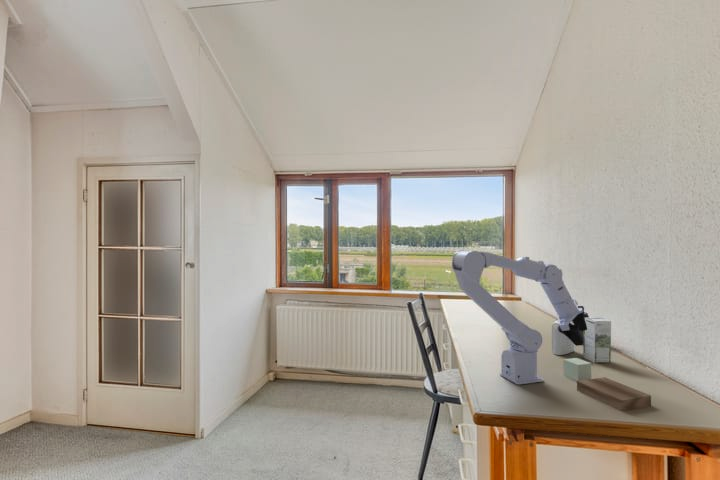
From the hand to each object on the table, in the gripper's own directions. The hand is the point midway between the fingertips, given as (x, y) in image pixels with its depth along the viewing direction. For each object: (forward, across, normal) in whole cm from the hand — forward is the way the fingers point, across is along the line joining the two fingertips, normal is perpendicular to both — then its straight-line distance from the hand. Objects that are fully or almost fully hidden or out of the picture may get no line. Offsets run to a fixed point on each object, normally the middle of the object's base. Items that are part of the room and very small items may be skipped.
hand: (581, 337), depth 105 cm
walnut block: (+9, -16, -6) cm, 19 cm away
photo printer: (+15, +15, +15) cm, 26 cm away
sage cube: (+9, -7, +4) cm, 12 cm away
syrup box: (+18, +13, +5) cm, 23 cm away
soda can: (+24, +33, +16) cm, 44 cm away
